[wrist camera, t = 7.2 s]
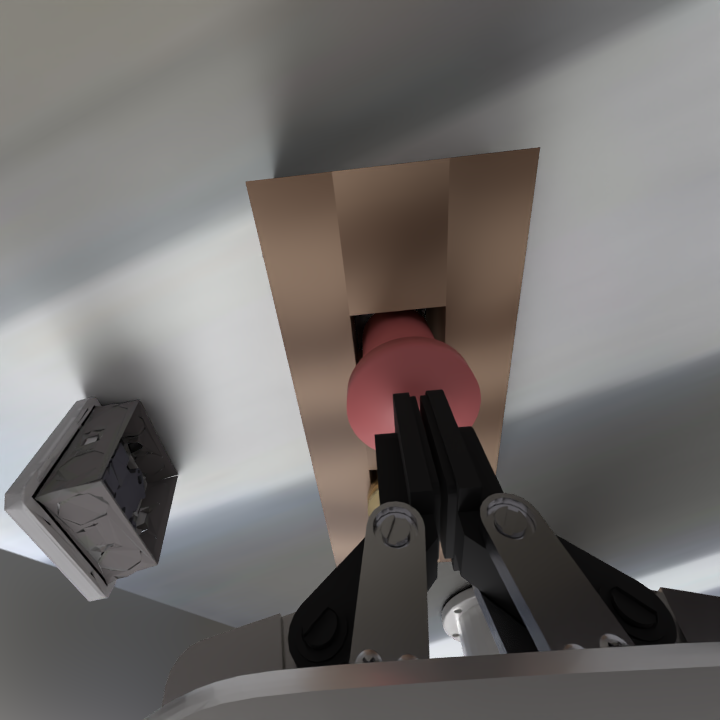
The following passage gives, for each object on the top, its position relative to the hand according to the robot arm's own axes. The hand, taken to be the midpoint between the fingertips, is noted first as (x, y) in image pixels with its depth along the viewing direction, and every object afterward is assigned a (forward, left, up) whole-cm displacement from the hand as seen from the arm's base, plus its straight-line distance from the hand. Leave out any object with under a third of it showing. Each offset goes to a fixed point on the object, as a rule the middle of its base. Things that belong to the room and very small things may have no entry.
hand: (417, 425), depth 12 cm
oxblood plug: (0, 0, -7) cm, 7 cm away
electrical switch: (-8, +19, -11) cm, 23 cm away
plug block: (-5, 0, -11) cm, 12 cm away
